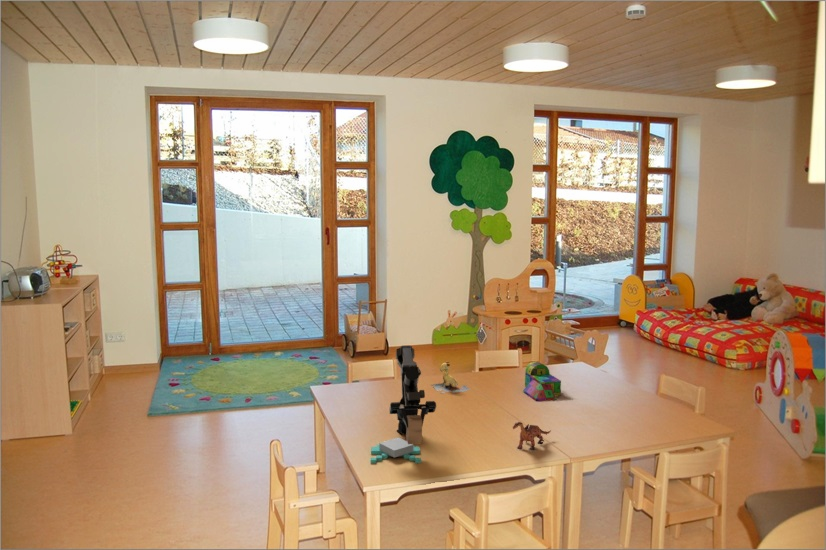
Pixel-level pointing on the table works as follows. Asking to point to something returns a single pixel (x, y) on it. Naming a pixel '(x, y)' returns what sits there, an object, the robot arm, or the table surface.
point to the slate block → (396, 447)
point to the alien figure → (384, 456)
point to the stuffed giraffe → (448, 381)
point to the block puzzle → (541, 383)
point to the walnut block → (414, 429)
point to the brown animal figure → (529, 435)
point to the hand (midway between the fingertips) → (414, 426)
